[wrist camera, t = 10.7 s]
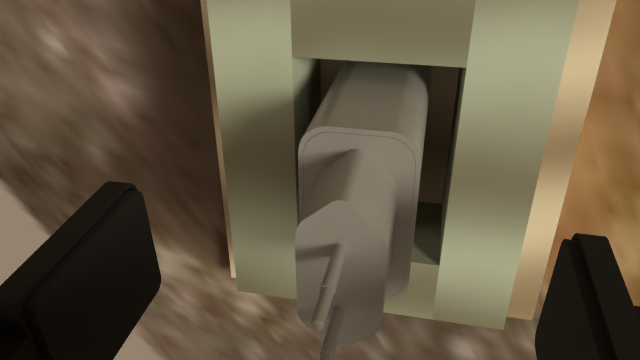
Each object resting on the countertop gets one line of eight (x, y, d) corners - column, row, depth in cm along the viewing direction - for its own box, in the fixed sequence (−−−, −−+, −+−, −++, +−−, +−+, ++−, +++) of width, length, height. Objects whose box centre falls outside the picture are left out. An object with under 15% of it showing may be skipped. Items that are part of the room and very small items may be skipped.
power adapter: (434, 48, 19) (410, 261, 9) (420, 182, 22) (389, 463, 11) (346, 43, 19) (227, 238, 9) (343, 174, 22) (249, 435, 12)
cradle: (195, -156, 18) (116, -163, 14) (648, -162, 16) (720, -172, 11) (238, 264, 27) (198, 337, 23) (529, 304, 25) (545, 395, 20)
